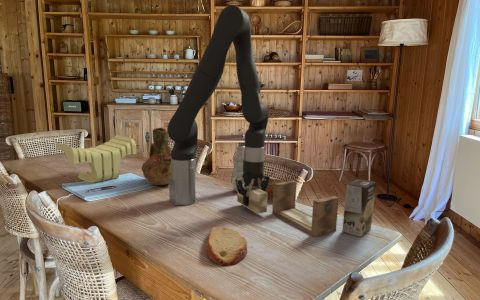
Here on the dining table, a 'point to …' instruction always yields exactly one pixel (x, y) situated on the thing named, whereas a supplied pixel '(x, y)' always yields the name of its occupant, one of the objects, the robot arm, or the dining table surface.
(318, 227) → the holder
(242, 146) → the grey bottle
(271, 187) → the tin
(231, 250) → the slice of bread
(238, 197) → the birch block
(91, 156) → the yellow slatted rack
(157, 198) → the dining table surface
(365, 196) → the coffee box
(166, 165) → the ceramic vessel
